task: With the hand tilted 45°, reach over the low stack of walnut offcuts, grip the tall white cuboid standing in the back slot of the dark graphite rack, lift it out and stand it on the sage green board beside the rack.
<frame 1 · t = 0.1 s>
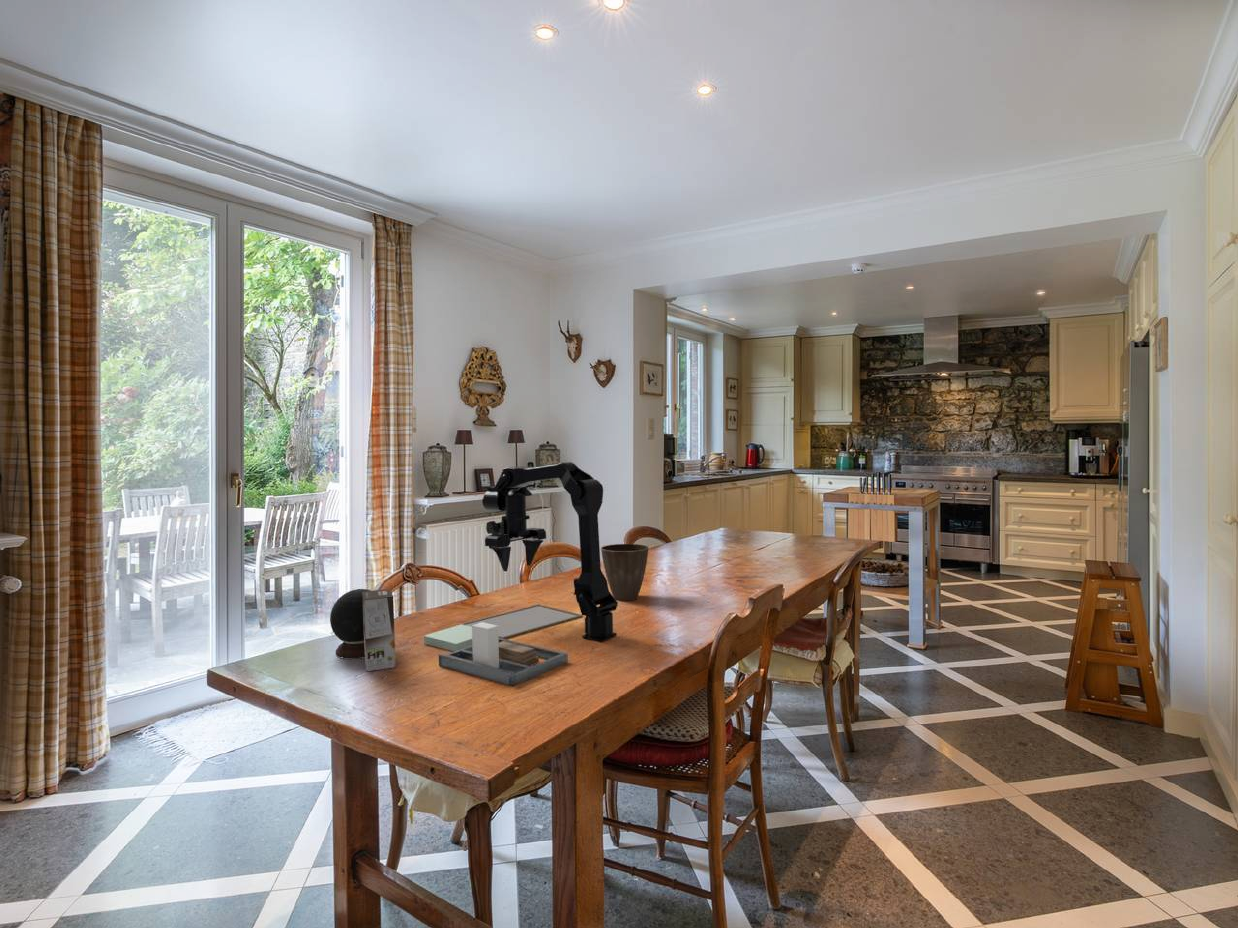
hand: (517, 568, 186), 15 cm above the table, tool pointing down, fingers open, 9 cm apart
green board: (459, 641, 168), on the table
plant pot: (625, 598, 211), on the table
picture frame: (522, 623, 186), on the table
tall white cuboid: (486, 670, 147), resting in offcut rack
offcut stack: (512, 662, 153), resting in offcut rack
offcut rack: (496, 666, 149), on the table
black sphere with base: (360, 651, 162), on the table
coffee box: (380, 664, 153), on the table
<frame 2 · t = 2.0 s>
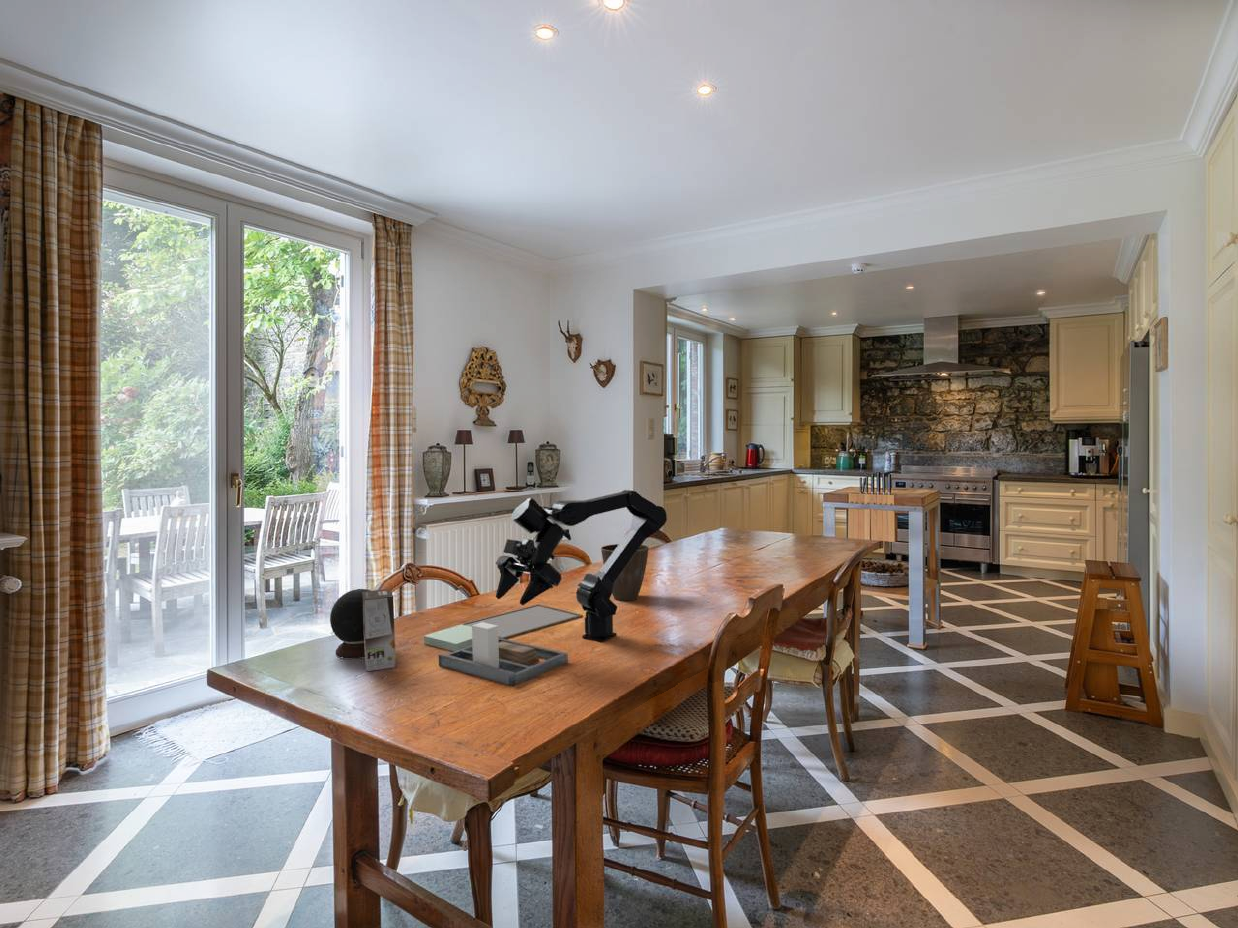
hand: (508, 601, 154), 13 cm above the table, tool tilted 40°, fingers open, 9 cm apart
nothing on the table moved.
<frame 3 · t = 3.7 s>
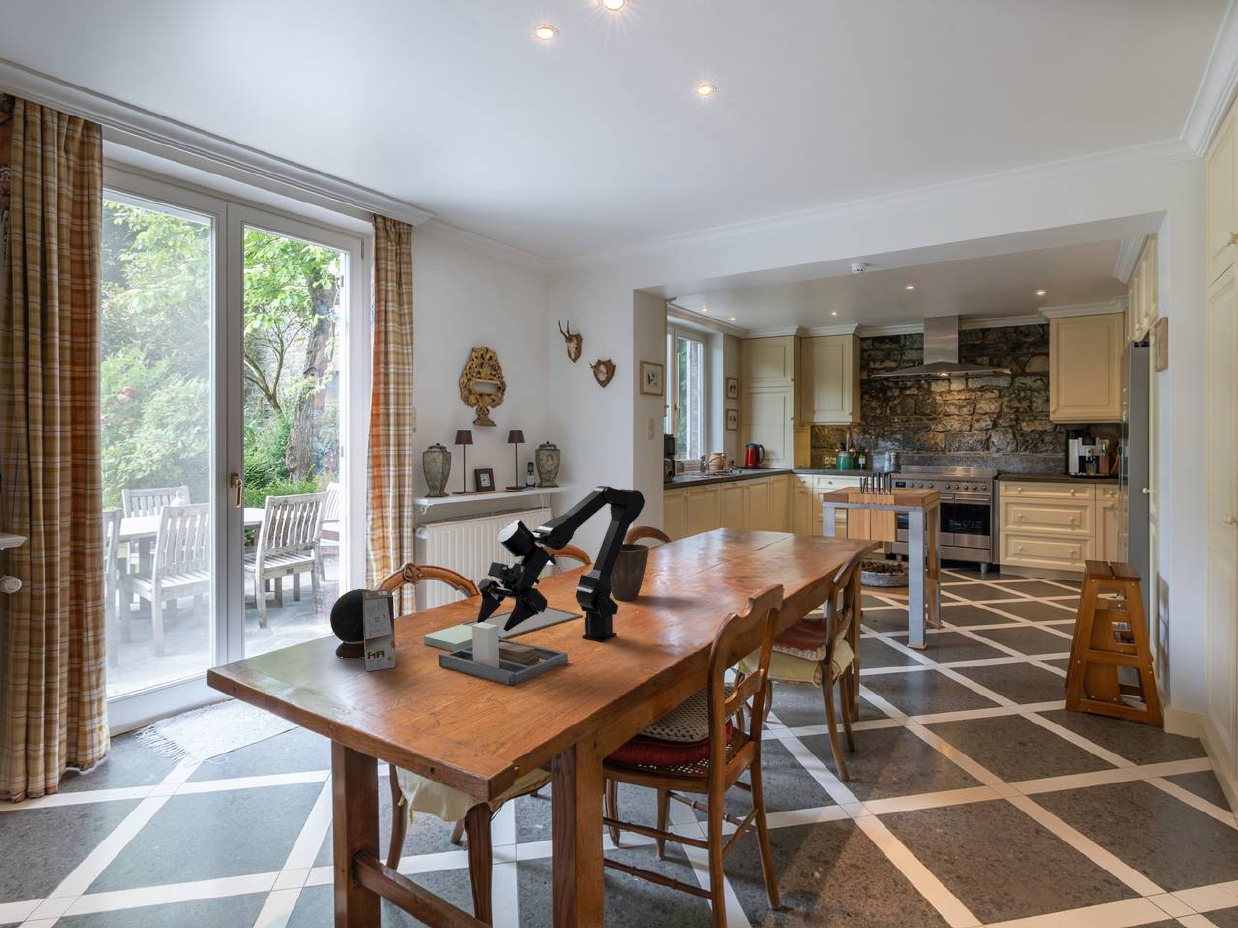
hand: (491, 626, 148), 9 cm above the table, tool tilted 45°, fingers open, 9 cm apart
nothing on the table moved.
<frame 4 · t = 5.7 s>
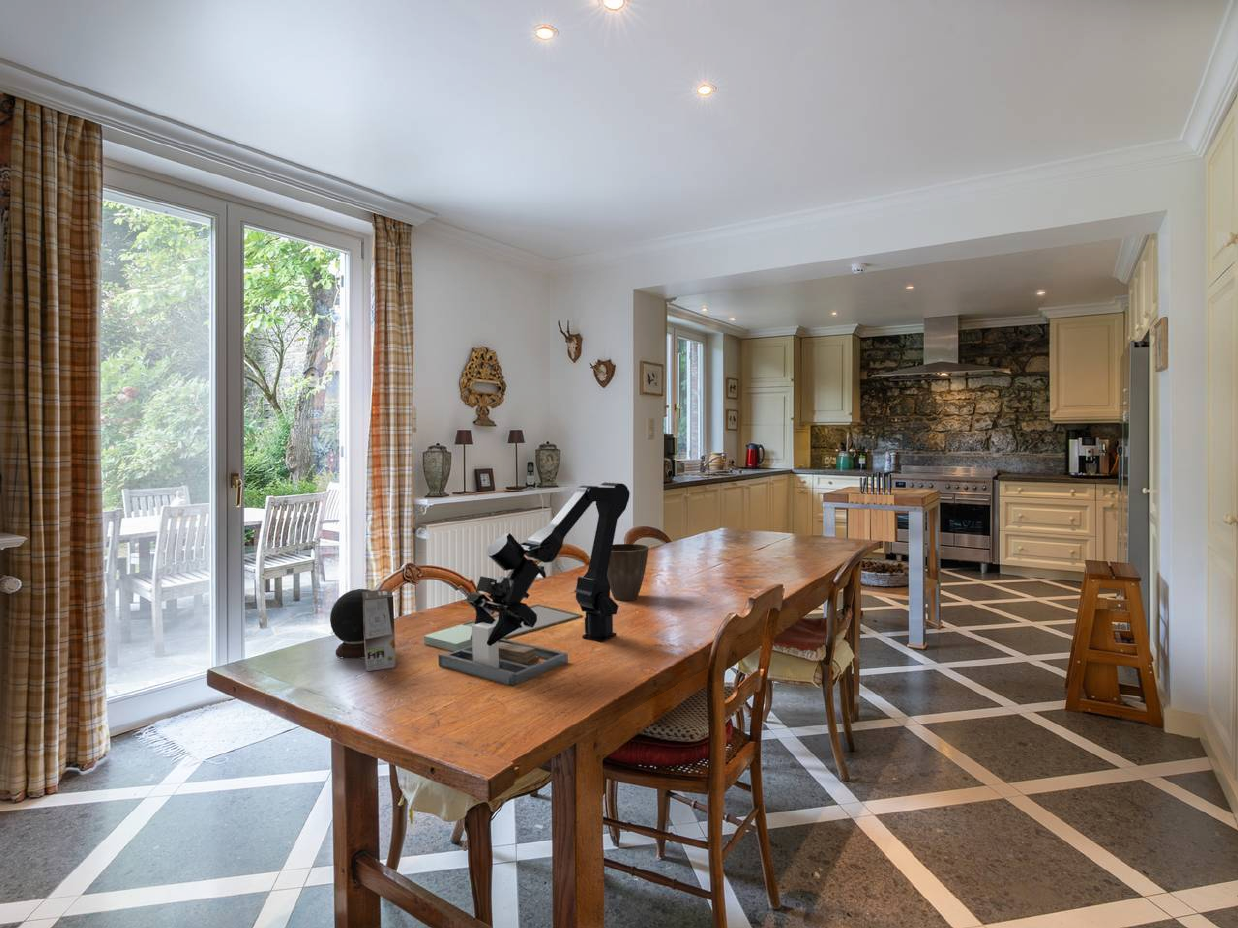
hand: (480, 642, 145), 7 cm above the table, tool tilted 45°, fingers closed on tall white cuboid, 5 cm apart
tall white cuboid: (486, 670, 147), resting in offcut rack, touching gripper
everything else where it was.
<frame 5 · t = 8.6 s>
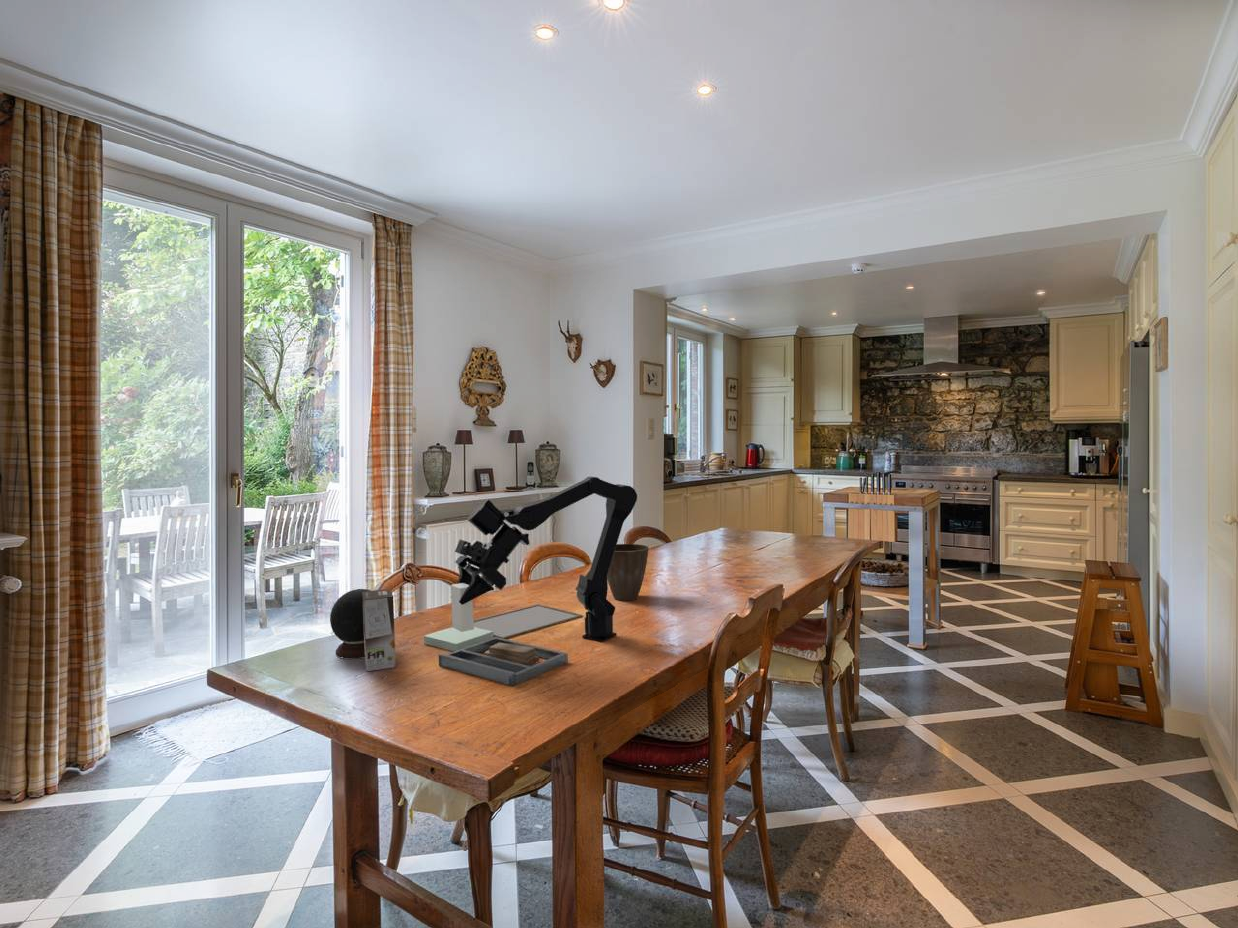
hand: (456, 601, 154), 14 cm above the table, tool tilted 45°, fingers closed on tall white cuboid, 5 cm apart
tall white cuboid: (462, 628, 155), point 7 cm above the table, touching gripper
everything else where it was.
when the fingers open (9 cm above the table, at t = 11.5 s): tall white cuboid stays where it is, resting on green board.
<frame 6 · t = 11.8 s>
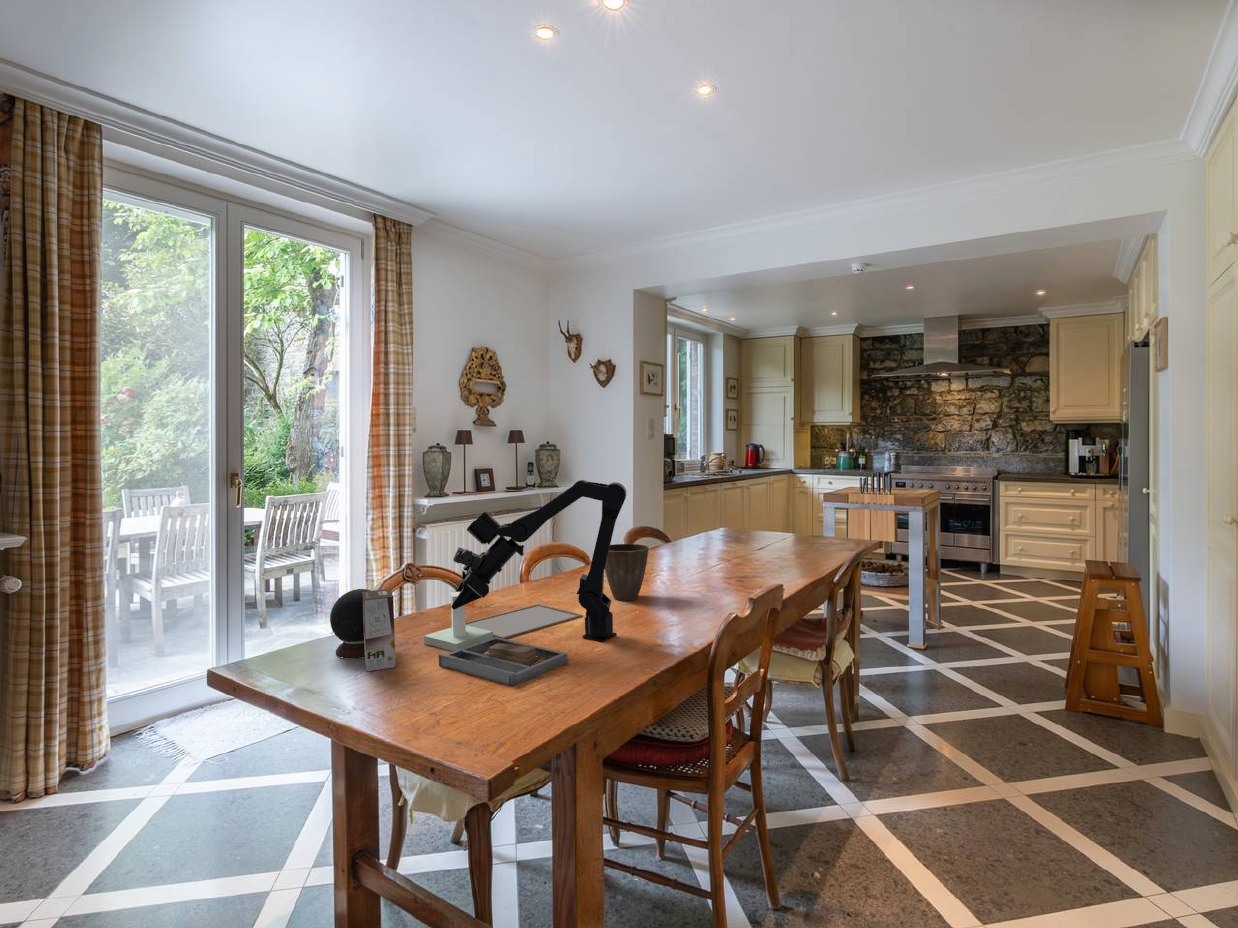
hand: (452, 604, 168), 10 cm above the table, tool tilted 45°, fingers open, 8 cm apart
tall white cuboid: (458, 633, 168), point 2 cm above the table, touching green board
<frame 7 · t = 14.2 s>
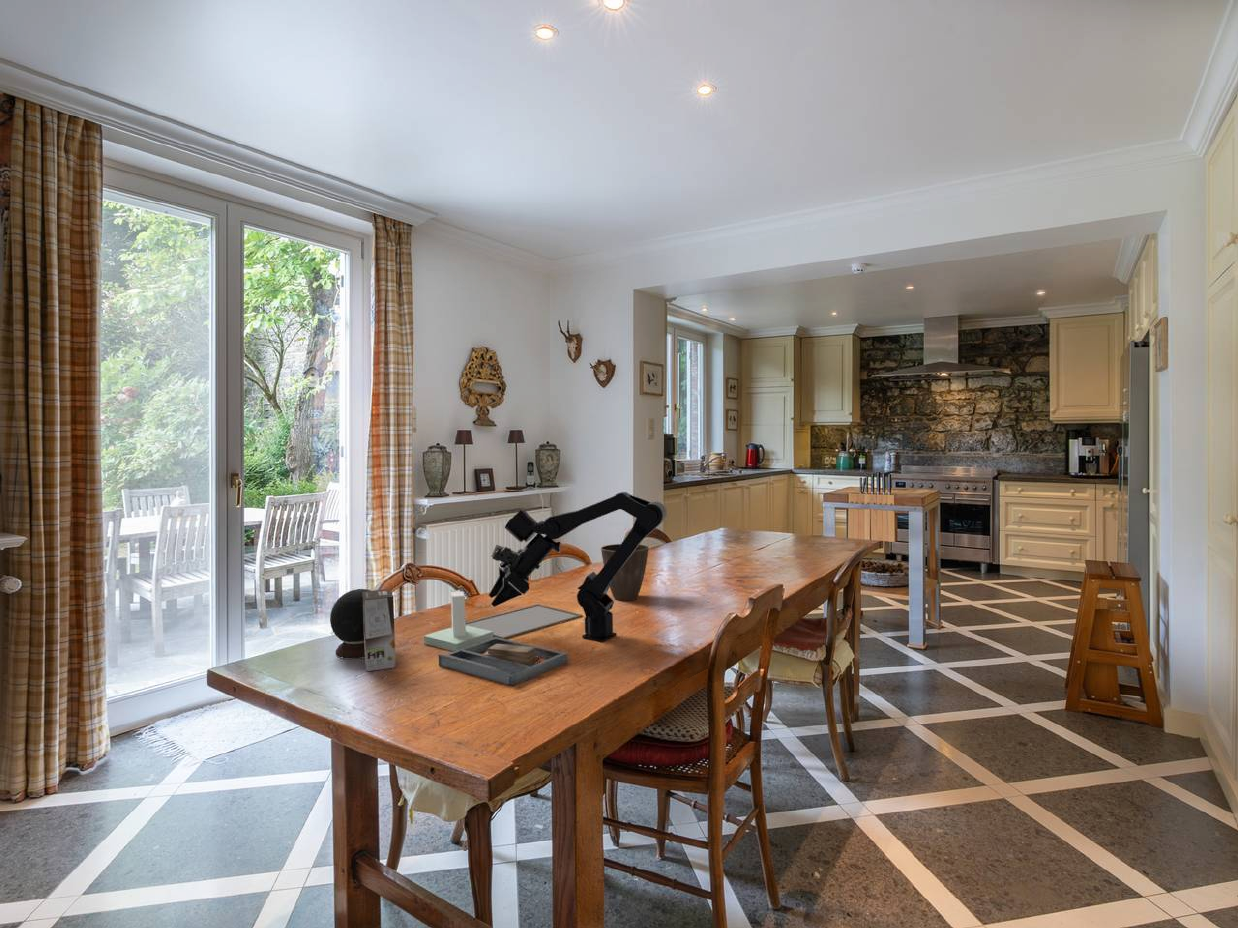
hand: (491, 600, 170), 10 cm above the table, tool tilted 45°, fingers open, 9 cm apart
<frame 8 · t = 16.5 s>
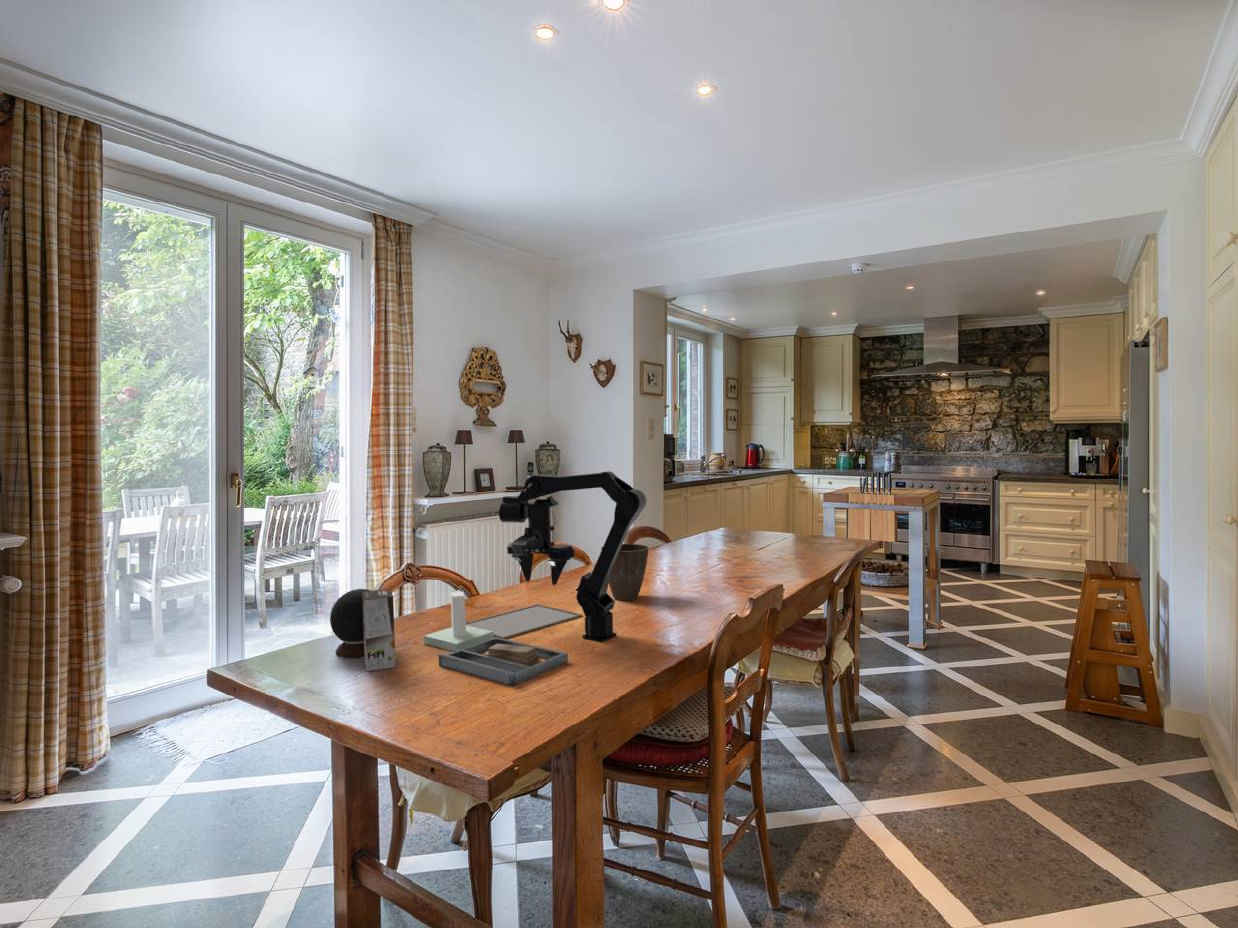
hand: (540, 582, 174), 13 cm above the table, tool pointing down, fingers open, 9 cm apart
nothing on the table moved.
at the end: tall white cuboid inside the target area (0.0 cm from its centre), point 2.0 cm above the table; tall white cuboid tilted 0°; offcut stack moved 1.0 cm from its start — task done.
